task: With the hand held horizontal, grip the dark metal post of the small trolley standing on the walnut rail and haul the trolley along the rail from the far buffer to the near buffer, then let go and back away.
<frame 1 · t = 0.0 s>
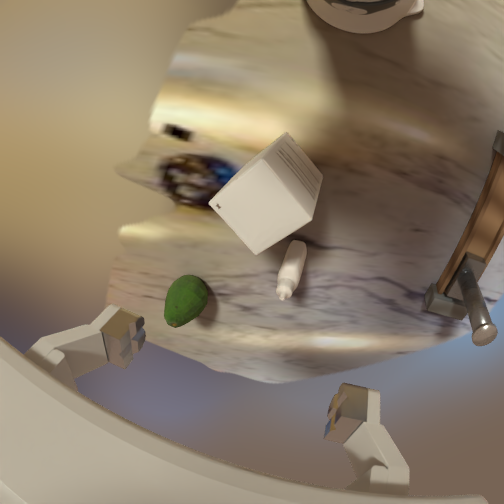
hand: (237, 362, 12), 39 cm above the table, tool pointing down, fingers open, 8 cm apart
supplement box: (284, 169, 48), on the table
rail: (481, 228, 41), on the table
avocado: (197, 282, 66), on the table
eye dropper bottle: (297, 252, 55), on the table
carriage: (474, 301, 39), point 9 cm above the table, slide at 0.0 cm
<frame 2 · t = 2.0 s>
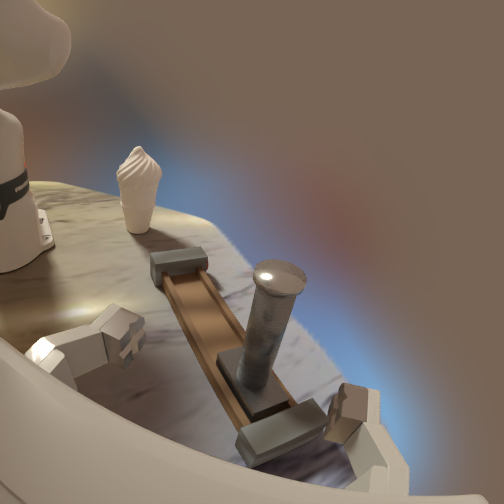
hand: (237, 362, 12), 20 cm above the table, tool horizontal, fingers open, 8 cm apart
soft serve ice cream cone: (137, 229, 58), on the table
rail: (215, 345, 38), on the table
carriage: (262, 340, 28), point 9 cm above the table, slide at 0.0 cm
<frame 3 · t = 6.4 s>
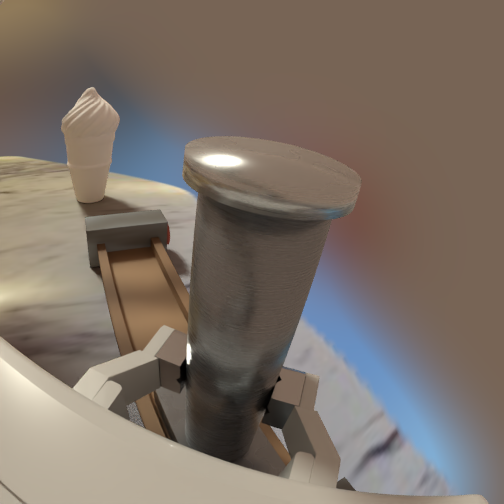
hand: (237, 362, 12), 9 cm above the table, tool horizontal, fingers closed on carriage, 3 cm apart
soft serve ice cream cone: (90, 199, 42), on the table
rail: (165, 362, 21), on the table
carriage: (232, 369, 11), point 9 cm above the table, slide at 0.0 cm, touching gripper
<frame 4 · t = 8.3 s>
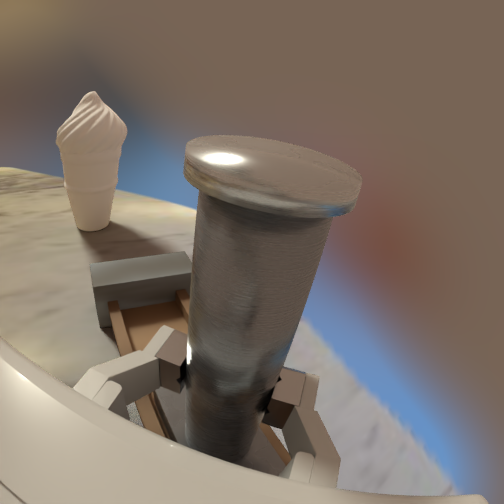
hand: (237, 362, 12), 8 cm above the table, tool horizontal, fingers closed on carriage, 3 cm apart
soft serve ice cream cone: (92, 225, 36), on the table
rail: (216, 465, 15), on the table
carriage: (232, 369, 11), point 9 cm above the table, slide at 8.4 cm, touching gripper
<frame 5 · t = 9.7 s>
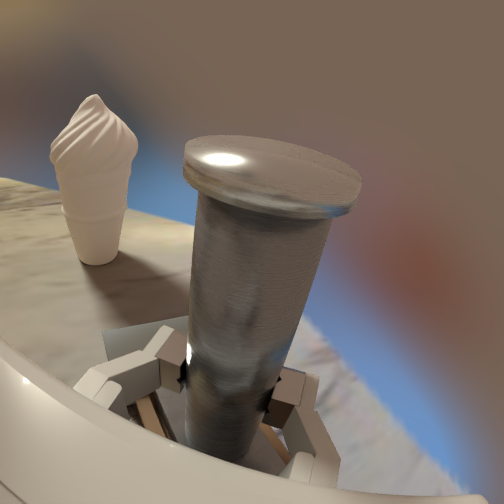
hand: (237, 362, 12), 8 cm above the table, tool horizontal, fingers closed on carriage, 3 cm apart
soft serve ice cream cone: (97, 256, 30), on the table
carriage: (232, 368, 11), point 9 cm above the table, slide at 15.8 cm, touching gripper
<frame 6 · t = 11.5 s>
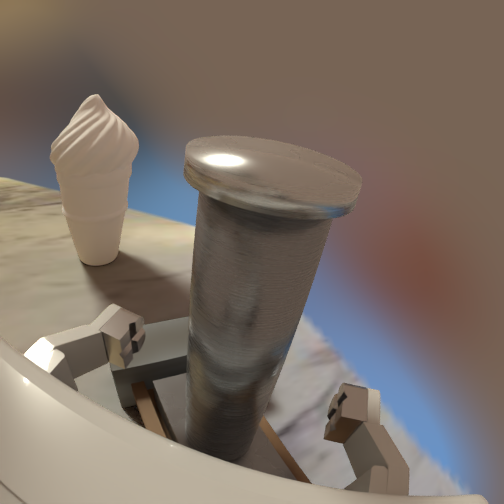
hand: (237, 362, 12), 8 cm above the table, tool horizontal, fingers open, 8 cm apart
soft serve ice cream cone: (98, 256, 30), on the table
carriage: (232, 368, 11), point 9 cm above the table, slide at 16.0 cm
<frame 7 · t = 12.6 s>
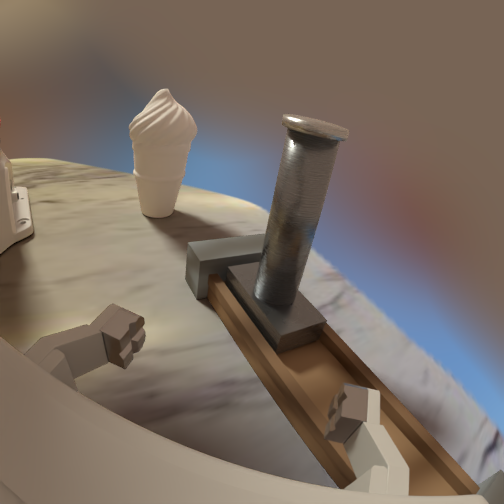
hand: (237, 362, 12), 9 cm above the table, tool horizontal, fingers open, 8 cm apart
soft serve ice cream cone: (156, 212, 41), on the table
rail: (321, 401, 20), on the table
carriage: (290, 229, 21), point 9 cm above the table, slide at 16.0 cm
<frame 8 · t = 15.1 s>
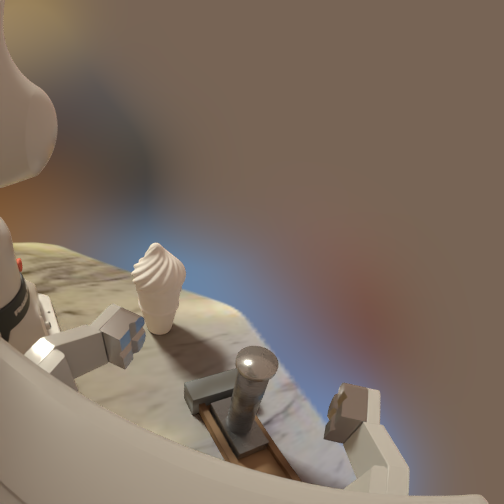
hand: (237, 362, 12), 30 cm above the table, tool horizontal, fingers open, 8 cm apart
soft serve ice cream cone: (159, 327, 52), on the table
rail: (265, 482, 31), on the table
carriage: (245, 401, 32), point 9 cm above the table, slide at 16.0 cm
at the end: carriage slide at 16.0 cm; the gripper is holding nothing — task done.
